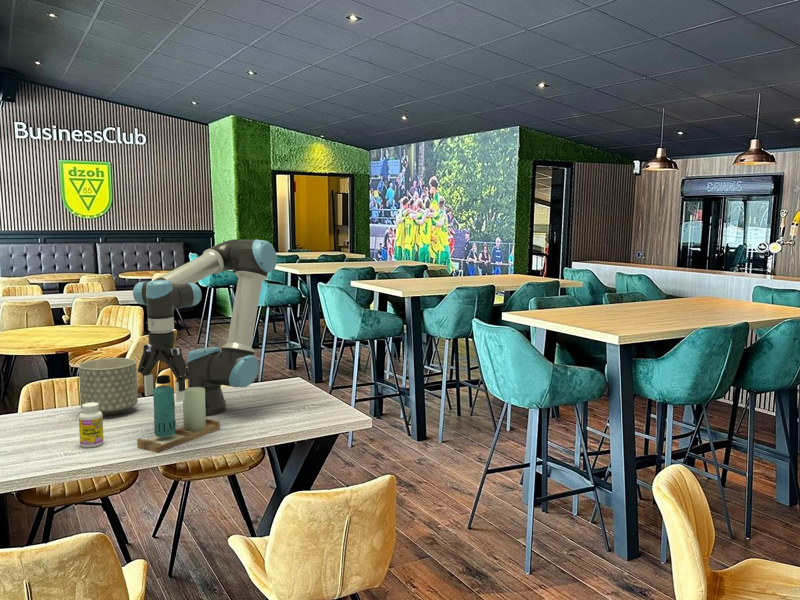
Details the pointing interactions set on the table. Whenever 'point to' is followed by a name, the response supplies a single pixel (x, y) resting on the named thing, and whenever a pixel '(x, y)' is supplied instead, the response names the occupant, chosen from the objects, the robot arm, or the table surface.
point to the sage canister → (194, 409)
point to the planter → (109, 384)
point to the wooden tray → (176, 437)
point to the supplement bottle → (91, 425)
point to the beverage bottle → (164, 408)
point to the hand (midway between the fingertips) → (164, 398)
